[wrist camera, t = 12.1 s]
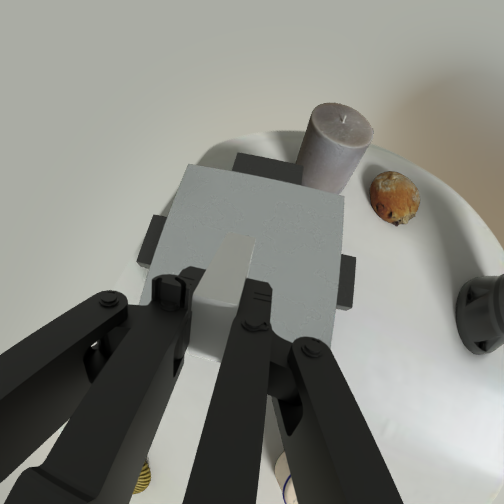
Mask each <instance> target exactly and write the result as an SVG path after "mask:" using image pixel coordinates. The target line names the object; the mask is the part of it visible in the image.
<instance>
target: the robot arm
mask: <svg viewBox="0 0 504 504" xmlns="http://www.w3.org/2000/svg"><path fill="white" fill-rule="evenodd" d="M255 240H256V238H255V237H250V236H245V235H241V234H236V233H231V232H228V233H227V234H226V236H225V238H224V240H223V241H222V243H221V245H220V247H219V248H218V250H217V252H216V254H215V255H214V257H213V259H212V261H211V263H210V264H209V266H208V268H207V270H206V269H201V268H197V267H193V266H189V267H187V268H185V269H183V270H182V271H181V272H180V274H179V275H172V274H162V275H159V276H156V277H154V278H153V279H152V292H151V301H150V303H149V304H148V305H128V300H127V298H126V296H125V295H123V294H122V293H120V292H117V291H112V290H109V291H102V292H99V293H97V294H95V295H93V296H92V297H90V298H88V299H87V300H85V301H83V302H82V303H80V304H78V305H77V306H75V307H74V308H72V309H70V310H69V311H67V312H65V313H64V314H62V315H61V316H59V317H58V318H56V319H54V320H53V321H51V322H50V323H48V324H47V325H45V326H43V327H42V328H40V329H39V330H37V331H36V332H34V333H32V334H31V335H29V336H28V337H26V338H25V339H23V340H22V341H20V342H19V343H17V344H16V345H14V346H13V347H11V348H10V349H8V350H7V351H5V352H4V353H2V354H1V355H0V483H1V482H2V481H3V480H5V479H6V478H7V477H8V476H9V475H10V474H11V473H12V472H13V471H14V470H15V469H16V468H17V467H18V466H20V464H22V463H23V462H24V461H25V460H26V459H27V458H28V457H29V456H30V455H31V454H32V453H33V452H34V451H36V450H37V449H38V448H39V447H40V446H41V445H42V444H43V443H44V442H45V441H46V440H47V439H48V438H49V437H50V436H52V434H54V433H55V432H56V431H57V430H58V429H59V428H60V427H61V426H62V425H63V424H64V423H65V422H67V421H68V420H69V421H68V423H67V424H66V426H65V427H64V429H63V431H62V432H61V434H60V436H59V437H58V439H57V441H56V442H55V444H54V446H53V448H52V449H51V451H50V453H49V454H48V456H47V458H46V460H45V461H44V462H43V464H41V465H40V466H38V467H29V468H28V469H26V470H24V471H23V472H22V473H21V475H20V476H19V477H18V479H17V481H16V482H15V484H14V486H13V488H12V490H11V491H10V493H9V495H8V497H7V499H6V501H5V503H4V504H129V502H130V499H131V497H132V494H133V491H134V489H135V486H136V483H137V481H138V478H139V475H140V473H141V470H142V467H143V465H144V462H145V460H146V457H147V454H148V452H149V449H150V447H151V444H152V441H153V439H154V436H155V434H156V431H157V429H158V426H159V424H160V421H161V419H162V416H163V414H164V411H165V409H166V406H167V404H168V401H169V399H170V396H171V394H172V391H173V389H174V386H175V384H176V381H177V379H178V376H179V374H180V371H181V369H182V367H183V364H184V354H185V351H186V349H187V347H188V352H187V354H188V355H192V356H196V357H200V358H204V359H208V360H212V361H216V362H220V363H221V365H220V369H219V373H218V376H217V380H216V383H215V387H214V391H213V394H212V398H211V402H210V405H209V409H208V413H207V416H206V420H205V423H204V427H203V431H202V434H201V438H200V442H199V445H198V449H197V453H196V456H195V460H194V463H193V467H192V471H191V474H190V478H189V482H188V485H187V489H186V493H185V496H184V500H183V503H182V504H256V497H257V489H258V480H259V471H260V462H261V453H262V443H263V433H264V423H265V412H266V401H267V394H268V395H270V396H272V402H273V406H274V410H275V414H276V418H277V422H278V426H279V430H280V434H281V438H282V442H283V446H284V450H285V454H286V458H287V462H288V466H289V470H290V474H291V478H292V482H293V486H294V490H295V494H296V497H297V501H298V504H403V501H402V499H401V497H400V494H399V492H398V490H397V488H396V485H395V483H394V481H393V479H392V477H391V474H390V472H389V470H388V468H387V466H386V463H385V461H384V459H383V457H382V455H381V453H380V450H379V448H378V446H377V444H376V442H375V440H374V438H373V436H372V433H371V431H370V429H369V427H368V425H367V423H366V421H365V419H364V417H363V415H362V412H361V410H360V408H359V406H358V404H357V402H356V400H355V398H354V396H353V394H352V392H351V390H350V388H349V386H348V384H347V382H346V380H345V378H344V376H343V374H342V372H341V370H340V368H339V366H338V364H337V362H336V360H335V358H334V356H333V354H332V352H331V350H330V348H329V347H328V346H327V344H325V343H324V342H322V341H321V340H319V339H316V338H314V337H307V336H305V337H299V338H297V339H295V340H294V342H293V343H292V342H290V341H287V340H285V339H283V338H281V337H280V336H278V335H277V334H276V333H275V332H274V331H273V330H272V326H271V324H270V318H271V305H272V291H273V289H272V288H271V286H270V284H269V283H268V282H263V281H259V280H254V279H249V278H247V277H248V273H249V268H250V263H251V259H252V254H253V249H254V244H255ZM456 319H457V326H458V331H459V334H460V337H461V339H462V341H463V343H464V345H465V346H466V347H467V348H468V350H470V351H471V352H472V353H474V354H478V355H481V354H486V353H490V352H492V351H494V350H496V349H497V348H498V347H500V346H501V345H503V344H504V274H502V275H500V276H481V277H477V278H474V279H472V280H470V281H468V282H467V283H466V284H465V285H464V286H463V287H462V289H461V291H460V293H459V296H458V300H457V307H456ZM96 341H97V344H96V345H94V346H92V347H91V345H93V344H94V343H95V342H96Z"/></svg>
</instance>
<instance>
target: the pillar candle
mask: <svg viewBox="0 0 504 504" xmlns="http://www.w3.org/2000/svg"><path fill="white" fill-rule="evenodd" d="M373 134H374V131H373V129H372V128H371V125H370V124H369V122H368V121H367V120H366V118H365V117H364V116H363V115H361V114H360V113H359V112H358V111H356V110H354V109H352V108H350V107H348V106H345V105H342V104H338V103H324V104H320V105H318V106H317V107H315V109H314V110H313V111H312V114H311V117H310V120H309V124H308V127H307V130H306V133H305V136H304V139H303V142H302V145H301V148H300V151H299V155H298V158H297V161H296V164H297V165H301V166H304V168H303V175H302V183H301V186H305V187H309V188H313V189H317V190H321V191H325V192H329V193H333V194H337V195H338V194H339V193H340V192H341V191H342V190H343V189H344V187H345V185H346V184H347V182H348V180H349V179H350V177H351V175H352V174H353V172H354V170H355V169H356V167H357V165H358V163H359V162H360V160H361V158H362V156H363V155H364V153H365V151H366V149H367V148H368V146H369V144H370V143H371V141H372V139H373Z"/></svg>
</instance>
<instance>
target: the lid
mask: <svg viewBox="0 0 504 504" xmlns="http://www.w3.org/2000/svg"><path fill="white" fill-rule="evenodd" d="M303 168H304V166H301V165H297V164H292V163H288V162H283V161H279V160H274V159H269V158H264V157H259V156H254V155H249V154H244V153H237V156H236V160H235V163H234V166H233V169H232V171H228V170H223V169H217V168H211V167H205V166H199V165H192V164H188V166H187V169H186V171H185V174H184V176H183V178H182V181H181V183H180V186H179V188H178V191H177V193H176V196H175V198H174V201H173V204H172V206H171V209H170V212H169V214H168V217H167V220H166V222H165V225H164V228H163V231H162V234H161V236H160V239H159V242H158V245H157V248H156V251H155V254H154V257H153V260H152V263H151V266H150V269H149V272H148V275H147V279H146V282H145V285H144V288H143V292H142V295H141V299H140V302H139V305H148V304H149V303H150V301H151V292H152V279H153V278H154V277H156V276H159V275H162V274H172V275H179V274H180V272H181V271H182V270H183V269H185V268H187V267H189V266H193V267H197V268H201V269H206V270H207V268H208V266H209V264H210V263H211V261H212V259H213V257H214V255H215V254H216V252H217V250H218V248H219V247H220V245H221V243H222V241H223V240H224V238H225V236H226V234H227V233H228V232H231V233H236V234H241V235H245V236H250V237H255V238H256V240H255V244H254V249H253V254H252V259H251V263H250V268H249V273H248V277H247V278H249V279H254V280H259V281H263V282H268V283H269V284H270V286H271V288H272V289H273V291H272V305H271V318H270V324H271V326H272V330H273V331H274V332H275V333H276V334H277V335H278V336H280V337H281V338H283V339H285V340H287V341H290V342H292V343H293V342H294V340H295V339H297V338H299V337H305V336H307V337H314V338H316V339H319V340H321V341H322V342H324V343H325V344H327V346H328V347H329V348H330V347H331V340H332V333H333V326H334V318H335V310H336V302H337V293H338V284H339V273H340V262H341V250H342V235H343V217H344V196H341V195H337V194H333V193H329V192H325V191H321V190H317V189H313V188H309V187H305V186H301V183H302V175H303Z"/></svg>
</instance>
